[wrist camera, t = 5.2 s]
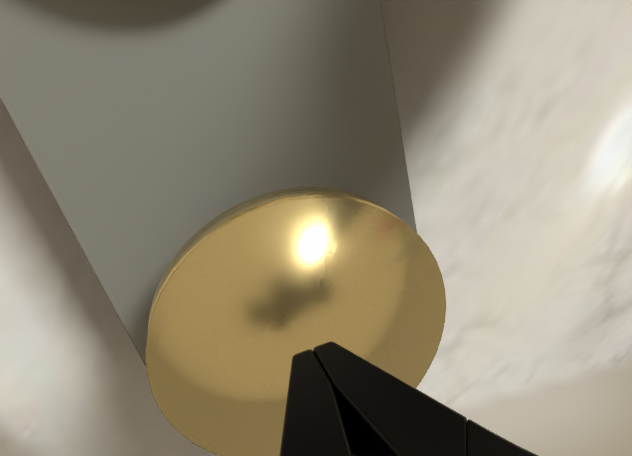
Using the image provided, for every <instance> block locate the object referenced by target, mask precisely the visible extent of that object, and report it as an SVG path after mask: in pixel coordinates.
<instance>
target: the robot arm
mask: <svg viewBox="0 0 632 456" xmlns="http://www.w3.org/2000/svg"><path fill="white" fill-rule="evenodd" d="M279 456H538V455H536V454H534V453H532V452H530V451H528V450H525V449H523V448H521V447H519V446H517V445H515V444H513V443H512V442H510V441H508V440H506V439H504V438H502V437H500V436H498V435H497V434H495V433H493V432H491V431H489V430H487V429H486V428H484V427H482V426H480V425H479V424H477V423H475V422H473V421H472V420H467V419H466V417H464V416H463V415H461V414H459V413H457V412H456V411H454V410H452V409H450V408H449V407H447V406H445V405H443V404H442V403H440V402H438V401H436V400H435V399H433V398H431V397H429V396H428V395H426V394H424V393H422V392H421V391H419V390H417V389H415V388H414V387H412V386H410V385H408V384H407V383H405V382H403V381H401V380H400V379H398V378H396V377H394V376H393V375H391V374H389V373H387V372H386V371H384V370H382V369H380V368H379V367H377V366H375V365H373V364H372V363H370V362H368V361H366V360H365V359H363V358H361V357H359V356H358V355H356V354H354V353H352V352H351V351H349V350H347V349H345V348H344V347H342V346H340V345H338V344H337V343H335V342H333V341H328V342H326V343H323V344H321V345H318V346H316V347H314V349H313V350H311V349H308V350H305V351H302V352H300V353H297V354H295V355H294V356H293V357H292V363H291V370H290V378H289V386H288V393H287V401H286V409H285V417H284V424H283V432H282V440H281V447H280V455H279Z"/></svg>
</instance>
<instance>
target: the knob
mask: <svg viewBox="0 0 632 456" xmlns="http://www.w3.org/2000/svg"><path fill="white" fill-rule="evenodd" d="M445 312H446V298H445V288H444V283H443V279H442V275H441V272H440V269H439V267H438V264H437V261H436V259H435V258H434V256H433V254H432V252H431V251H430V249H429V247H428V246H427V245H426V243H425V242H424V241H423V240H422V239H421V237H420V236H419V235H418V234H417V233H416V232H415V231H414V230H413V229H411V228H410V227H409V226H408V225H407V224H406V223H405V222H403V221H402V220H401V219H399V218H398V217H397V216H395V215H394V214H393V213H391V212H390V211H389V210H387V209H385V208H384V207H382V206H381V205H379V204H377V203H376V202H374V201H372V200H370V199H368V198H365V197H363V196H361V195H358V194H355V193H352V192H348V191H344V190H341V189H334V188H326V187H297V188H289V189H282V190H277V191H274V192H270V193H266V194H262V195H259V196H256V197H254V198H251V199H249V200H246V201H244V202H242V203H239V204H237V205H235V206H234V207H232V208H230V209H228V210H226V211H225V212H223V213H221V214H219V215H218V216H217V217H215V218H214V219H213V220H211V221H210V222H208V223H207V224H206V225H204V226H203V227H202V228H201V229H200V230H199V231H197V232H196V233H195V234H194V235H193V236H192V237H191V238H190V239H189V240H188V241H187V242H186V243H185V244H184V245H183V247H182V248H181V249H180V250H179V252H178V253H177V254H176V255H175V257H174V258H173V259H172V261H171V262H170V264H169V266H168V267H167V269H166V271H165V272H164V274H163V276H162V278H161V280H160V282H159V285H158V287H157V289H156V292H155V294H154V298H153V301H152V305H151V309H150V313H149V323H148V334H147V345H146V367H147V375H148V380H149V384H150V388H151V391H152V393H153V396H154V398H155V400H156V402H157V405H158V407H159V408H160V410H161V411H162V413H163V414H164V416H165V417H166V419H167V420H168V421H169V422H170V423H171V424H172V425H173V426H174V428H175V429H176V430H177V431H178V432H179V433H181V434H182V435H183V436H184V437H186V438H187V439H188V440H190V441H191V442H192V443H194V444H196V445H198V446H199V447H201V448H203V449H205V450H207V451H209V452H212V453H214V454H217V455H220V456H279V455H280V447H281V440H282V432H283V424H284V417H285V409H286V401H287V393H288V386H289V378H290V370H291V363H292V357H293V356H294V355H295V354H297V353H300V352H302V351H305V350H308V349H311V350H313V349H314V347H316V346H318V345H321V344H323V343H326V342H328V341H333V342H335V343H337V344H338V345H340V346H342V347H344V348H345V349H347V350H349V351H351V352H352V353H354V354H356V355H358V356H359V357H361V358H363V359H365V360H366V361H368V362H370V363H372V364H373V365H375V366H377V367H379V368H380V369H382V370H384V371H386V372H387V373H389V374H391V375H393V376H394V377H396V378H398V379H400V380H401V381H403V382H405V383H407V384H408V385H410V386H412V387H414V388H415V389H416V387H417V386H418V385H419V383H420V382H421V380H422V379H423V377H424V375H425V374H426V372H427V370H428V369H429V367H430V365H431V363H432V361H433V359H434V357H435V354H436V352H437V349H438V346H439V343H440V340H441V337H442V333H443V328H444V323H445Z"/></svg>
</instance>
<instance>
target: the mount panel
mask: <svg viewBox="0 0 632 456" xmlns="http://www.w3.org/2000/svg"><path fill="white" fill-rule="evenodd" d="M0 98H1V100H2V102H3V104H4V106H5V107H6V109H7V111H8V113H9V115H10V117H11V119H12V120H13V122H14V124H15V126H16V128H17V130H18V131H19V133H20V135H21V137H22V139H23V141H24V143H25V144H26V146H27V148H28V150H29V152H30V154H31V155H32V157H33V159H34V161H35V163H36V165H37V167H38V168H39V170H40V172H41V174H42V176H43V178H44V179H45V181H46V183H47V185H48V187H49V189H50V191H51V192H52V194H53V196H54V198H55V200H56V202H57V203H58V205H59V207H60V209H61V211H62V213H63V215H64V216H65V218H66V220H67V222H68V224H69V226H70V227H71V229H72V231H73V233H74V235H75V237H76V239H77V240H78V242H79V244H80V246H81V248H82V250H83V251H84V253H85V255H86V257H87V259H88V261H89V263H90V264H91V266H92V268H93V270H94V272H95V274H96V275H97V277H98V279H99V281H100V283H101V285H102V287H103V288H104V290H105V292H106V294H107V296H108V298H109V299H110V301H111V303H112V305H113V307H114V309H115V311H116V312H117V314H118V316H119V318H120V320H121V322H122V323H123V325H124V327H125V329H126V331H127V333H128V335H129V336H130V338H131V340H132V342H133V344H134V346H135V347H136V349H137V351H138V353H139V355H140V357H141V359H142V360H143V362H144V364H145V366H146V345H147V334H148V323H149V313H150V309H151V305H152V301H153V298H154V294H155V292H156V289H157V287H158V285H159V282H160V280H161V278H162V276H163V274H164V272H165V271H166V269H167V267H168V266H169V264H170V262H171V261H172V259H173V258H174V257H175V255H176V254H177V253H178V252H179V250H180V249H181V248H182V247H183V245H184V244H185V243H186V242H187V241H188V240H189V239H190V238H191V237H192V236H193V235H194V234H195V233H196V232H197V231H199V230H200V229H201V228H202V227H203V226H204V225H206V224H207V223H208V222H210V221H211V220H213V219H214V218H215V217H217V216H218V215H219V214H221V213H223V212H225V211H226V210H228V209H230V208H232V207H234V206H235V205H237V204H239V203H242V202H244V201H246V200H249V199H251V198H254V197H256V196H259V195H262V194H266V193H270V192H274V191H277V190H282V189H289V188H297V187H326V188H334V189H341V190H344V191H348V192H352V193H355V194H358V195H361V196H363V197H365V198H368V199H370V200H372V201H374V202H376V203H377V204H379V205H381V206H382V207H384V208H385V209H387V210H389V211H390V212H391V213H393V214H394V215H395V216H397V217H398V218H399V219H401V220H402V221H403V222H405V223H406V224H407V225H408V226H409V227H410V228H411V229H413V230H414V231H415V232H416V233H417V231H416V224H415V218H414V212H413V205H412V199H411V193H410V186H409V180H408V174H407V167H406V161H405V155H404V149H403V142H402V136H401V130H400V123H399V117H398V111H397V104H396V98H395V92H394V85H393V79H392V73H391V66H390V60H389V54H388V48H387V41H386V35H385V29H384V22H383V16H382V10H381V3H380V0H0ZM146 368H147V367H146Z"/></svg>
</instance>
